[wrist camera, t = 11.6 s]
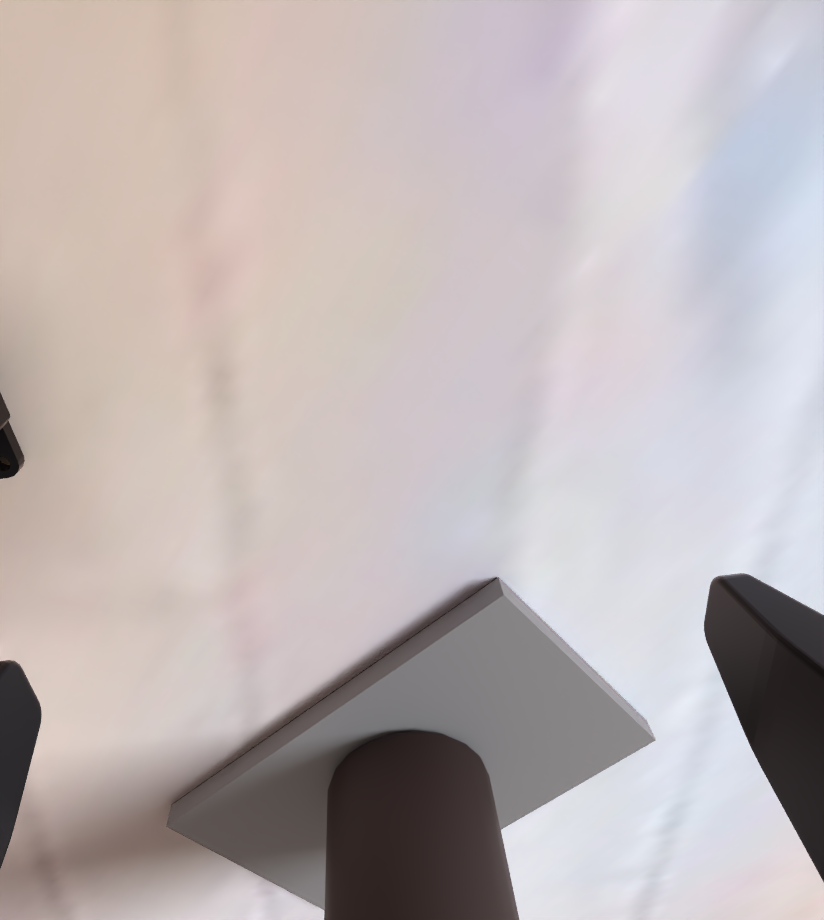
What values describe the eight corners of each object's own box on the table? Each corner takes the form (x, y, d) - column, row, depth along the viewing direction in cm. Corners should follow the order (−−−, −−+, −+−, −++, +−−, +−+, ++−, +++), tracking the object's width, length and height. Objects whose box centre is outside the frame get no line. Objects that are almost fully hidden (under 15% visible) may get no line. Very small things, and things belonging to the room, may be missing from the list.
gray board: (171, 804, 30) (166, 826, 29) (498, 577, 25) (503, 594, 24) (343, 899, 34) (343, 920, 34) (646, 720, 30) (655, 740, 29)
